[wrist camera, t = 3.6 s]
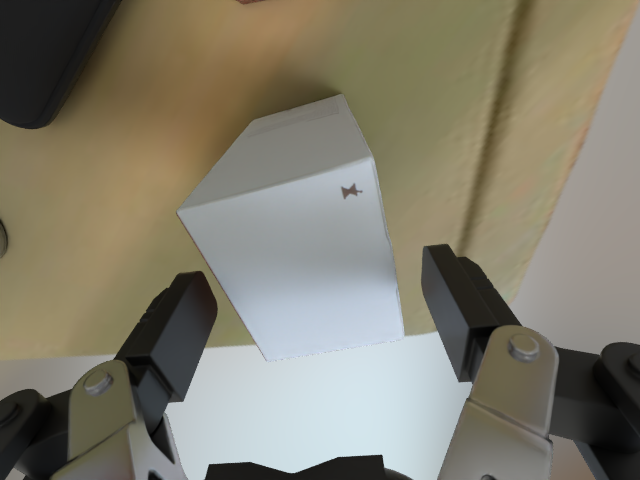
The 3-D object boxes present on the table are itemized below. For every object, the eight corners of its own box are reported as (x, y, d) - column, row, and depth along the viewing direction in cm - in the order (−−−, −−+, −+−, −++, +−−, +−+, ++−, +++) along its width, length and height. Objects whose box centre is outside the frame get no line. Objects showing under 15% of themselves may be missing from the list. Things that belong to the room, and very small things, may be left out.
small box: (251, 119, 20) (166, 208, 9) (344, 91, 19) (379, 151, 8) (289, 221, 24) (265, 367, 13) (367, 202, 23) (410, 342, 12)
